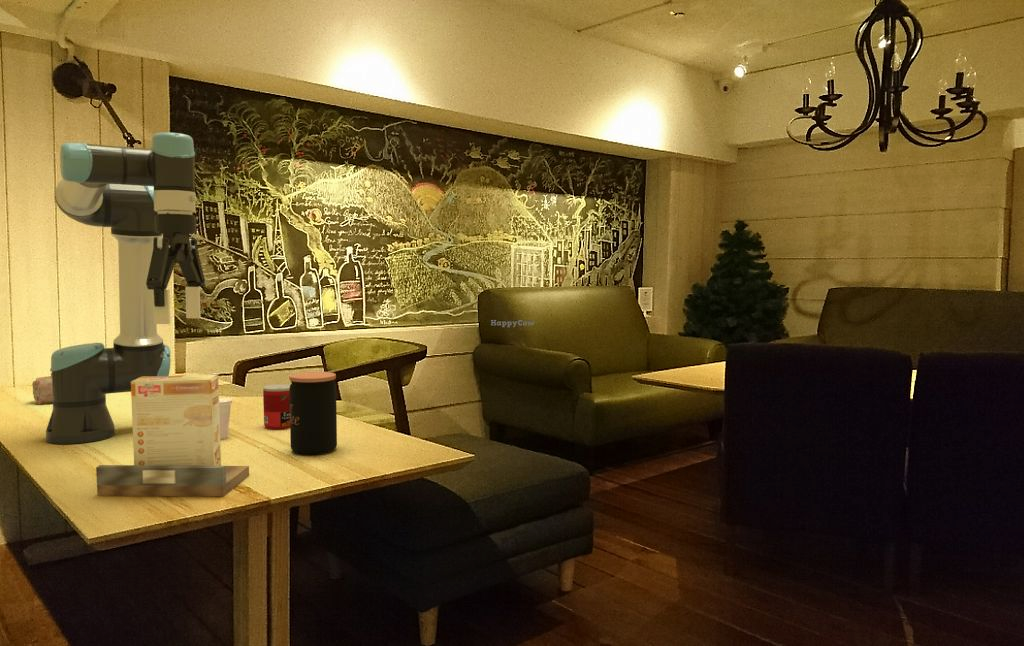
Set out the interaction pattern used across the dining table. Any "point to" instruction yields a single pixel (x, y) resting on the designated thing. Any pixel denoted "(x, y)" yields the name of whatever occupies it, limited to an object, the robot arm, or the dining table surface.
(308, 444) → the coffee jar
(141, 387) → the coffeecake box
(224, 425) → the smoothie
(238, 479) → the shelf board
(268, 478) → the dining table surface
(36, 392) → the food item
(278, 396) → the canned food
